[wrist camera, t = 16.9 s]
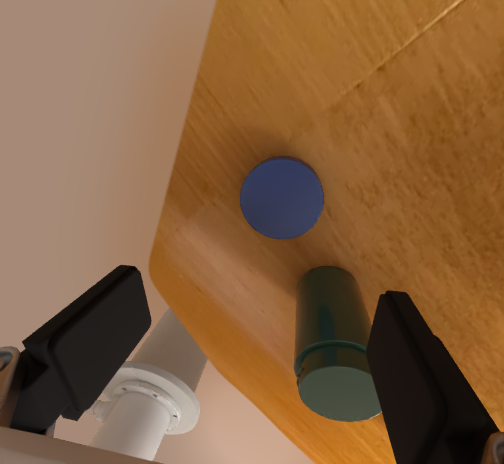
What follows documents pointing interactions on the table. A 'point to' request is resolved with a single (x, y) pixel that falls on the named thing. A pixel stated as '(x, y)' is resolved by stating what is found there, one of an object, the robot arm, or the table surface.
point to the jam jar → (333, 346)
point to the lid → (282, 197)
